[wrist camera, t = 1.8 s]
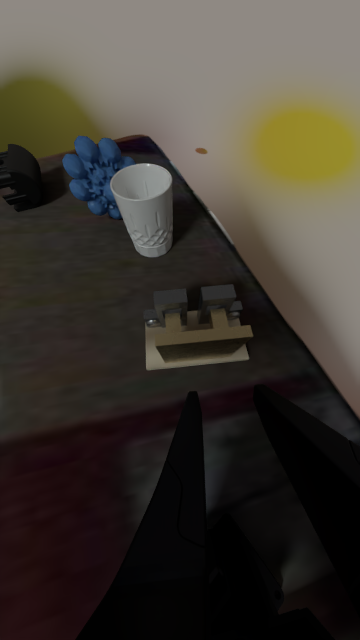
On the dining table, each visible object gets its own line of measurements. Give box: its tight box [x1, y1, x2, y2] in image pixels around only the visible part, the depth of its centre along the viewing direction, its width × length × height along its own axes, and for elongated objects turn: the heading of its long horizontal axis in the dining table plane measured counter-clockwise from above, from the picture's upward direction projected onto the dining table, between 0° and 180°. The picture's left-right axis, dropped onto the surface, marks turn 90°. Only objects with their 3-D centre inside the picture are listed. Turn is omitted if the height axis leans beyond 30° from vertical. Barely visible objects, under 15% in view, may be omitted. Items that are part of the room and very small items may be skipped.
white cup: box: [110, 164, 173, 257], centre depth 27 cm, size 8×8×10 cm
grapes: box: [62, 136, 136, 219], centre depth 28 cm, size 12×7×12 cm, turn 120°
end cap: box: [0, 144, 42, 212], centre depth 35 cm, size 10×7×7 cm
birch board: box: [146, 311, 249, 370], centre depth 23 cm, size 7×13×1 cm, turn 95°
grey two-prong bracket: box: [144, 284, 243, 328], centre depth 21 cm, size 2×12×6 cm, turn 96°
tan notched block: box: [155, 308, 253, 363], centre depth 19 cm, size 4×8×8 cm, turn 95°
